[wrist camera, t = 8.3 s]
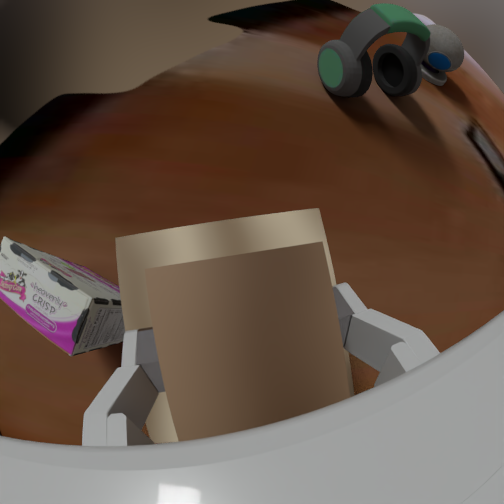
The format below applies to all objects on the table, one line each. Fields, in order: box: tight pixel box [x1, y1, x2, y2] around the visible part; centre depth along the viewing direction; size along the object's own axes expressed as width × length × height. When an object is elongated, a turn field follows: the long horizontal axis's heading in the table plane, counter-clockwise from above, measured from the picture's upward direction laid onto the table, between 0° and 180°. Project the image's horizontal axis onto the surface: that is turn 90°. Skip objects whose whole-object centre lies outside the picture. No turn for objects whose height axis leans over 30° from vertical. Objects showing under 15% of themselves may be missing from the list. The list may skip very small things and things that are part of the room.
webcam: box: [420, 25, 464, 86], centre depth 44 cm, size 13×13×15 cm
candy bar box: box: [0, 237, 125, 356], centre depth 24 cm, size 11×5×16 cm, turn 67°
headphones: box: [317, 4, 431, 97], centre depth 36 cm, size 19×11×20 cm, turn 109°
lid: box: [115, 208, 354, 443], centre depth 12 cm, size 13×13×10 cm
